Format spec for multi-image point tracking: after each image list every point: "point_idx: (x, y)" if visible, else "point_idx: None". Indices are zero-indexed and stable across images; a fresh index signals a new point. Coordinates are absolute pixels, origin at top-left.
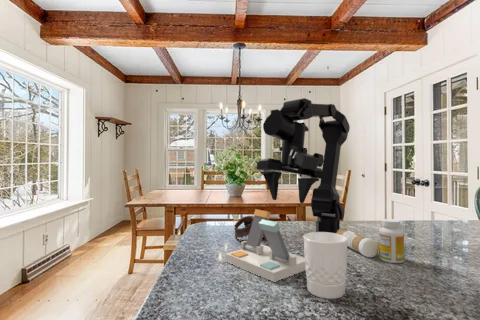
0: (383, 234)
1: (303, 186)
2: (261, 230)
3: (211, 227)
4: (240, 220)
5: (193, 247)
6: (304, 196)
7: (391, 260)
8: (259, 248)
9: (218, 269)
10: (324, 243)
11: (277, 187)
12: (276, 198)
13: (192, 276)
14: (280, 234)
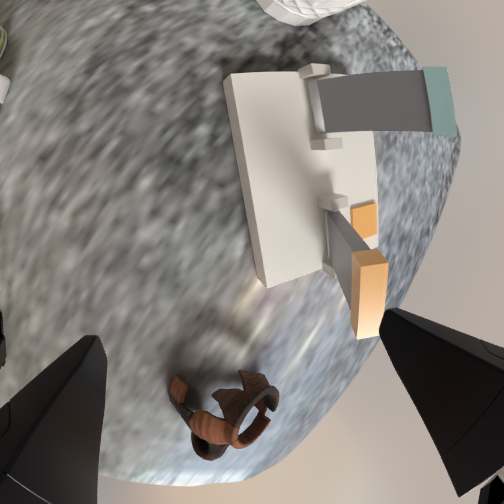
0: None
1: (55, 487)
2: (355, 232)
3: (250, 462)
4: (255, 436)
5: (356, 350)
6: (67, 370)
7: (4, 31)
8: (341, 196)
9: (389, 206)
10: None
11: (464, 344)
12: (393, 311)
13: (421, 200)
14: (404, 71)
